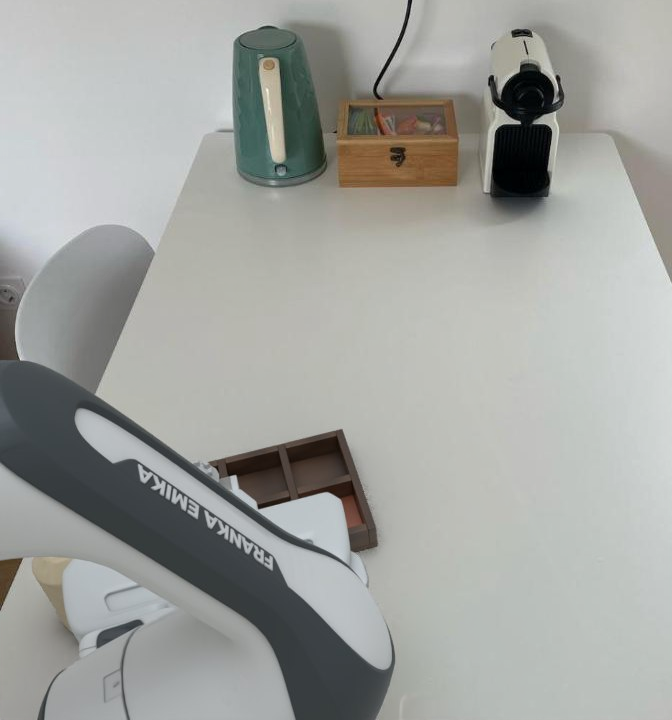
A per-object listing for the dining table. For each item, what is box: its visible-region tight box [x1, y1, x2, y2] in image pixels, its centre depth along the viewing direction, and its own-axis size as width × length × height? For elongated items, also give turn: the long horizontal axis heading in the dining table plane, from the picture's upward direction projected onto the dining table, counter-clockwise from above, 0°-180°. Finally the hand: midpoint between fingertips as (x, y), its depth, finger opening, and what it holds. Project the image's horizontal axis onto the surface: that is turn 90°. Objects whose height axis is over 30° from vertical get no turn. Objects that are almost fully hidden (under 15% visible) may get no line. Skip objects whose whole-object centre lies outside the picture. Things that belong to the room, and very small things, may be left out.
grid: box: [201, 428, 379, 553], centre depth 81 cm, size 20×13×3 cm
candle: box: [31, 557, 73, 633], centre depth 72 cm, size 6×6×10 cm
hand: (201, 488), depth 64 cm, fingers closed on rook chess piece, 3 cm apart
